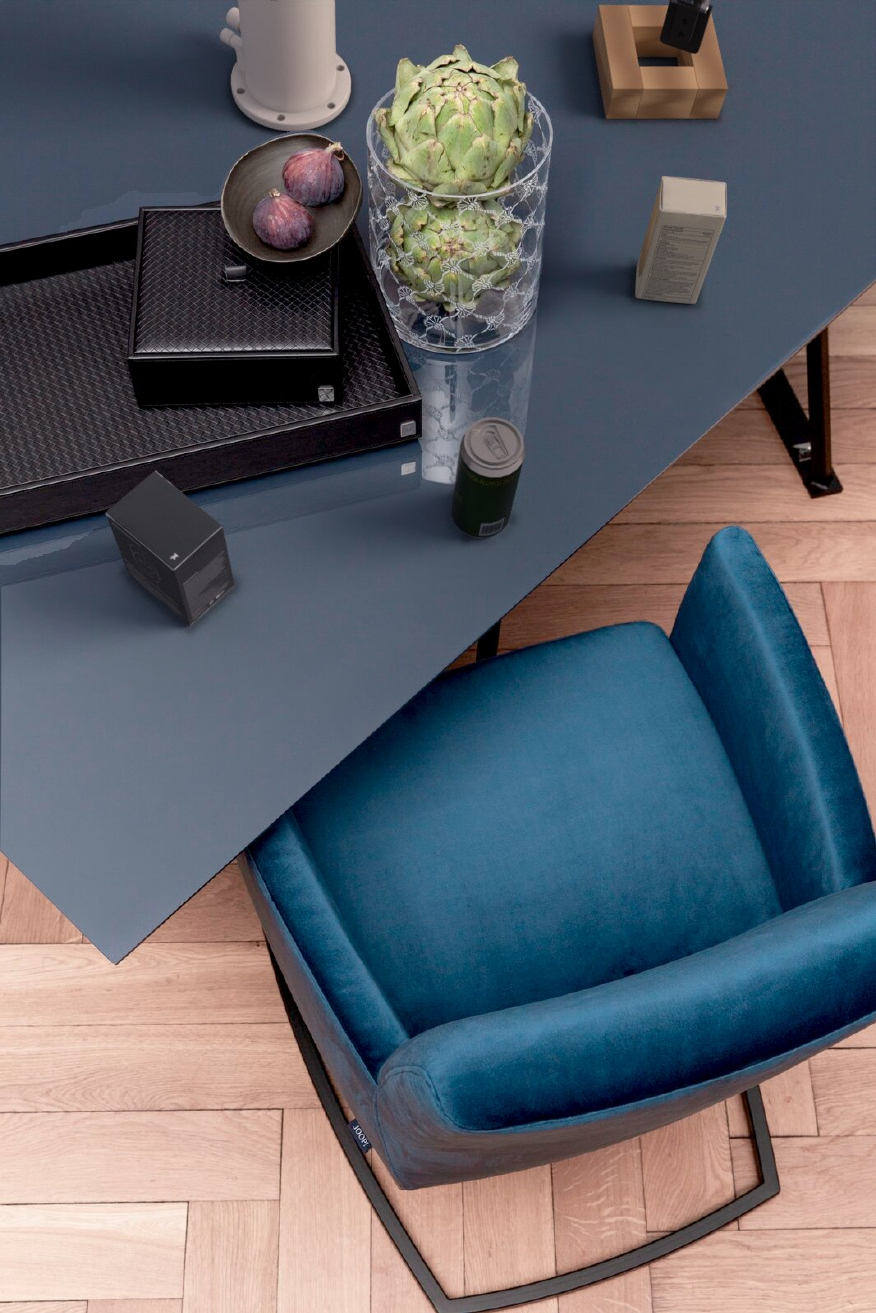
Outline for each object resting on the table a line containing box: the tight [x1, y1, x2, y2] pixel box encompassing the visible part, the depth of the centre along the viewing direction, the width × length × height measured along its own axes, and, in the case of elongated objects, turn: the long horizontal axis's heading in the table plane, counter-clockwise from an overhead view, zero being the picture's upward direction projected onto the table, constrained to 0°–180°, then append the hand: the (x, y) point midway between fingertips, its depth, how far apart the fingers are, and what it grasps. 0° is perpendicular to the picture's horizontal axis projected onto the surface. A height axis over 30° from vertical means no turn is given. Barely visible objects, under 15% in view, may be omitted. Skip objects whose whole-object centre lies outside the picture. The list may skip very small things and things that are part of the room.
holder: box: [592, 4, 729, 120], centre depth 131 cm, size 12×12×4 cm
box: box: [105, 470, 235, 627], centre depth 100 cm, size 8×6×11 cm
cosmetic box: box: [634, 175, 728, 305], centre depth 116 cm, size 6×4×12 cm
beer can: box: [450, 416, 526, 539], centre depth 104 cm, size 5×5×12 cm
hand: (697, 6), depth 96 cm, fingers open, 9 cm apart
